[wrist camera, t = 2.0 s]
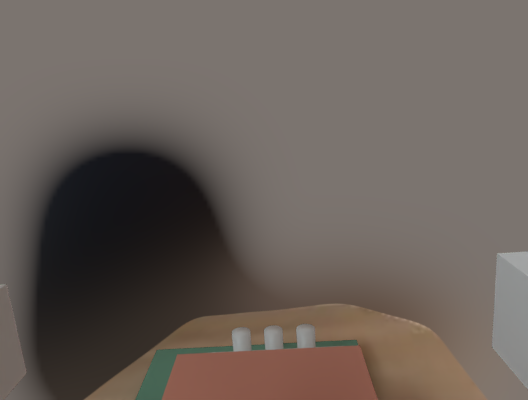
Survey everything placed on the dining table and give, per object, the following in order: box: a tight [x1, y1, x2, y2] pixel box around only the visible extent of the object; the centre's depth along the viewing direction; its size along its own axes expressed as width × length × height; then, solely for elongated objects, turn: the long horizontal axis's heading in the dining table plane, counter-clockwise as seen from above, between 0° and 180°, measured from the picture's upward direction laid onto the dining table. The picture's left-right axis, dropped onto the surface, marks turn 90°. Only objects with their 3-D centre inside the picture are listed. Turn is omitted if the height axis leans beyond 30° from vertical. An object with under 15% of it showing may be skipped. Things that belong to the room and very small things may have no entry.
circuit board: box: [136, 324, 358, 400], centre depth 39 cm, size 20×12×6 cm, turn 89°
